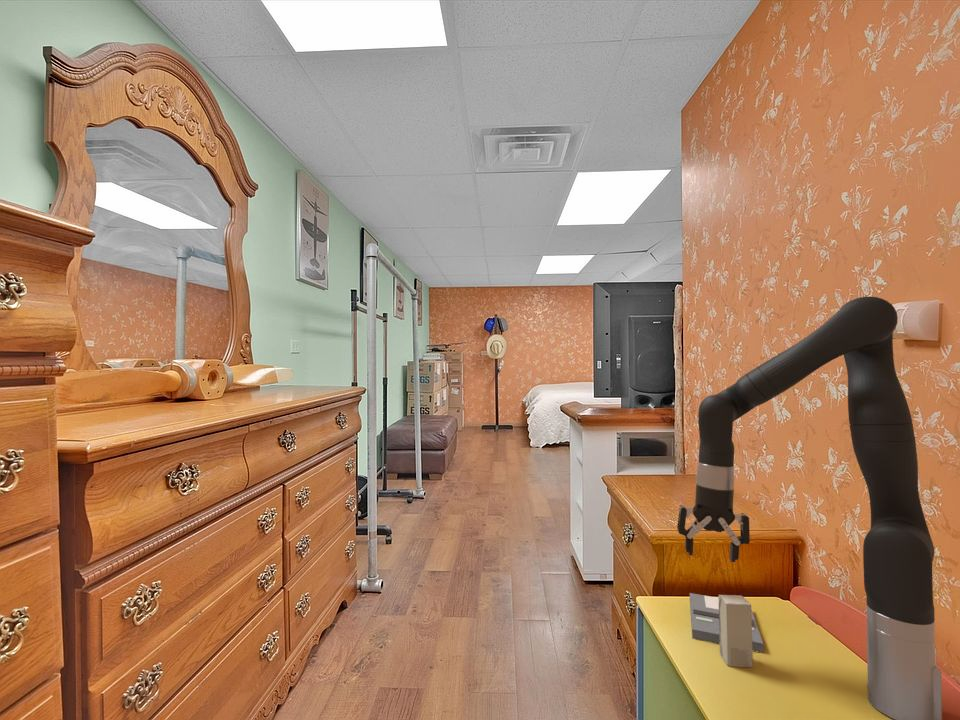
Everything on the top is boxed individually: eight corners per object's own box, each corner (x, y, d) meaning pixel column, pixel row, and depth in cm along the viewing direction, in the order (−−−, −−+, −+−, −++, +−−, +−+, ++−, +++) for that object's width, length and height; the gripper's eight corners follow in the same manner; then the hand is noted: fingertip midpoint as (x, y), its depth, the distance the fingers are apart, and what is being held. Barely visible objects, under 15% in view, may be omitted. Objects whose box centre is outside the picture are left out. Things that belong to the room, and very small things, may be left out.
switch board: (749, 611, 120) (749, 602, 120) (763, 653, 101) (763, 642, 102) (689, 600, 125) (689, 592, 125) (692, 638, 107) (692, 628, 107)
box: (743, 656, 100) (743, 594, 101) (753, 668, 96) (753, 604, 96) (717, 654, 101) (717, 593, 101) (726, 666, 96) (726, 602, 97)
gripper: (682, 483, 103) (678, 558, 102) (755, 492, 99) (751, 570, 98) (678, 477, 110) (674, 546, 110) (745, 484, 106) (742, 556, 106)
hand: (711, 557), depth 104 cm, fingers open, 8 cm apart
